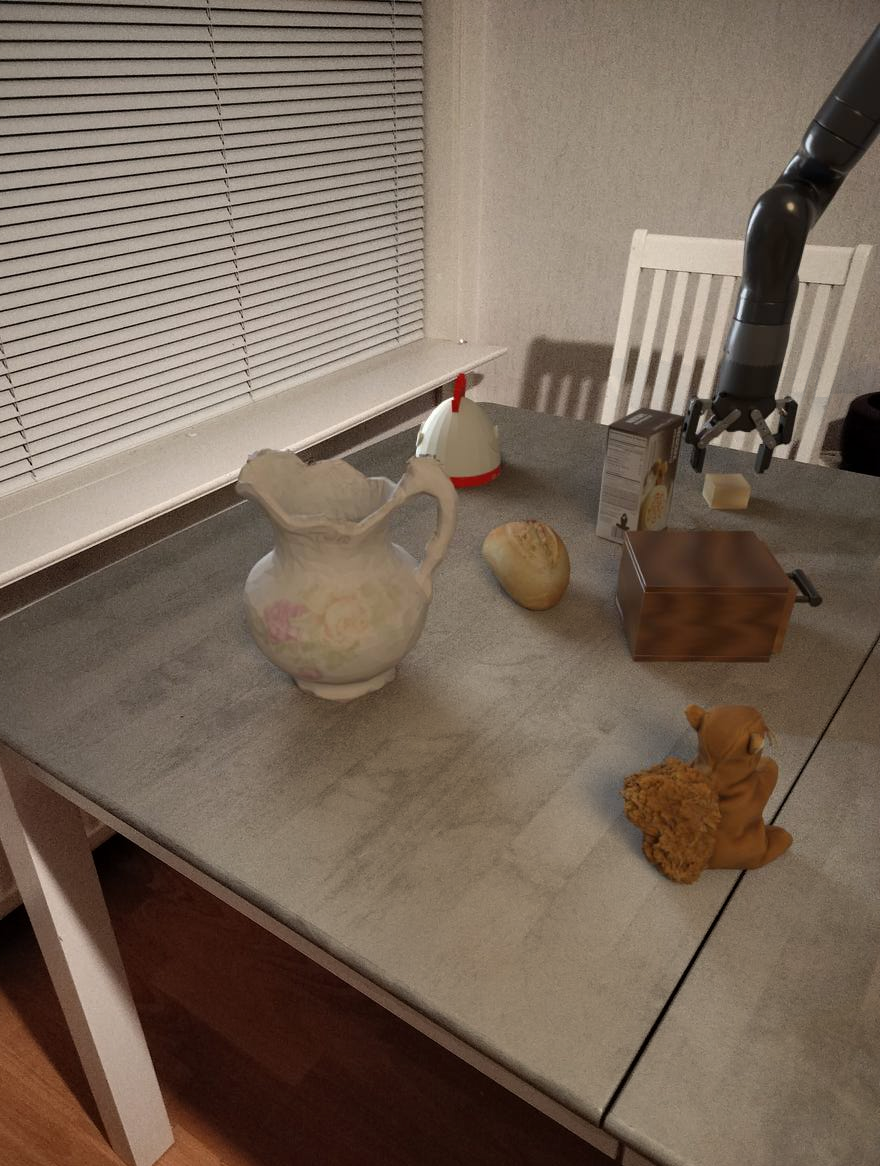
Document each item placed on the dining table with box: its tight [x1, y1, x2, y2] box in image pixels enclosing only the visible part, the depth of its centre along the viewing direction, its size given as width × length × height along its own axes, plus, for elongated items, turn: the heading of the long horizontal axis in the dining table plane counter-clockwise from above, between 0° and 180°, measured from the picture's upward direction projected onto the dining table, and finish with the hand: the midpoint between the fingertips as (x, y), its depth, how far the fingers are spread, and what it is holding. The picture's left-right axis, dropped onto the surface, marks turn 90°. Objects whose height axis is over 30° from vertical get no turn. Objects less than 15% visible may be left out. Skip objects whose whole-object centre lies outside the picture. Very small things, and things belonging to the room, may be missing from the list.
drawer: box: [759, 539, 823, 653], centre depth 95 cm, size 18×11×8 cm, turn 87°
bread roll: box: [481, 518, 571, 611], centre depth 105 cm, size 10×15×8 cm, turn 18°
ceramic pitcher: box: [234, 447, 459, 704], centre depth 87 cm, size 22×20×25 cm
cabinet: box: [614, 530, 790, 663], centre depth 95 cm, size 15×13×10 cm
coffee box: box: [595, 407, 686, 545], centre depth 114 cm, size 9×6×16 cm
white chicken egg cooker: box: [415, 372, 502, 488], centre depth 134 cm, size 14×14×15 cm
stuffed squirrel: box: [618, 703, 794, 886], centre depth 68 cm, size 10×14×13 cm
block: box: [701, 473, 752, 510], centre depth 122 cm, size 5×5×5 cm
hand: (727, 471), depth 120 cm, fingers open, 8 cm apart
